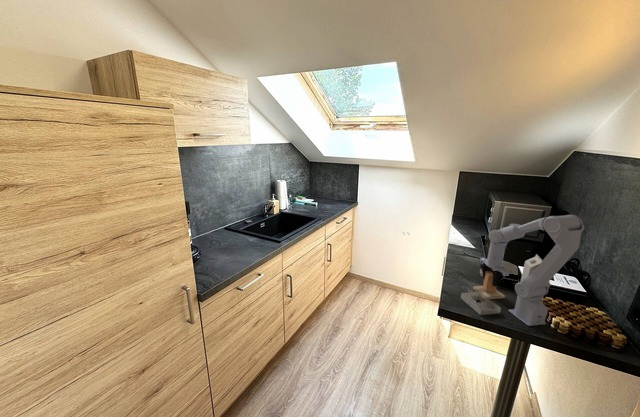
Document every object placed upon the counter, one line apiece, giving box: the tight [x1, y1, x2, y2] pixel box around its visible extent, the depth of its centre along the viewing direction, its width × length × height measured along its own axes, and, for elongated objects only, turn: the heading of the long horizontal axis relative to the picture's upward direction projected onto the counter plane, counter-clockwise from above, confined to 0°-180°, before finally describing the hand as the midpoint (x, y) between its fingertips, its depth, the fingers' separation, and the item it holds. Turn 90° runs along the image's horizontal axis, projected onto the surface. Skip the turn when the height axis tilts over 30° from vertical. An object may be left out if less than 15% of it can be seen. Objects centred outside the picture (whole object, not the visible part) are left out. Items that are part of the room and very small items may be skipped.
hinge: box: [479, 260, 519, 278], centre depth 136 cm, size 17×5×10 cm, turn 64°
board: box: [472, 285, 506, 300], centre depth 122 cm, size 9×9×1 cm
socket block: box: [460, 291, 502, 316], centre depth 113 cm, size 12×9×2 cm
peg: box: [482, 271, 498, 292], centre depth 121 cm, size 4×4×8 cm
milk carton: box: [519, 253, 544, 299], centre depth 119 cm, size 7×7×19 cm
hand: (490, 282), depth 121 cm, fingers closed on peg, 5 cm apart
